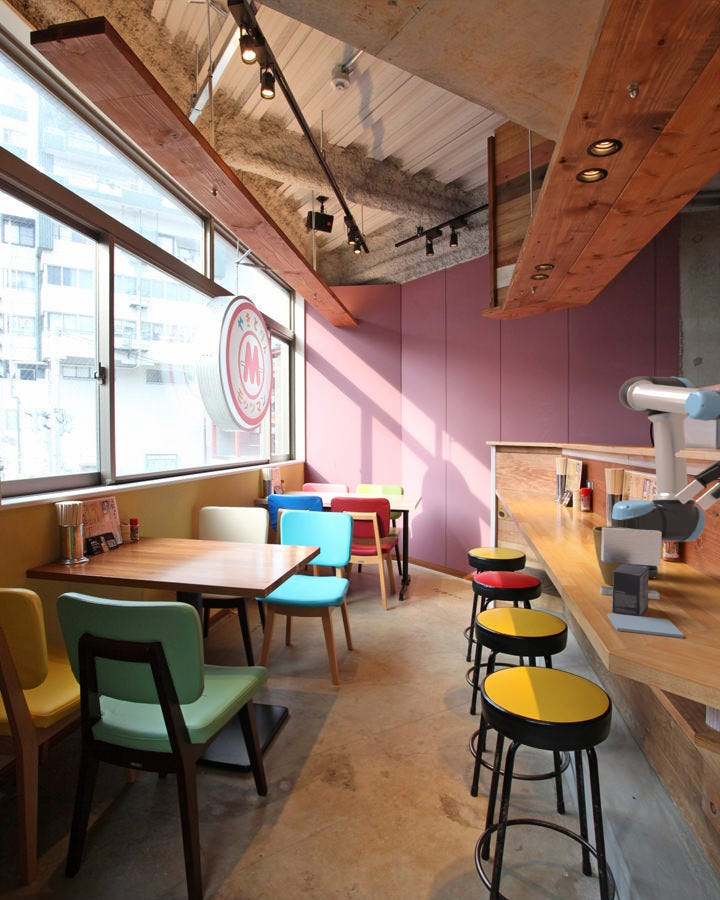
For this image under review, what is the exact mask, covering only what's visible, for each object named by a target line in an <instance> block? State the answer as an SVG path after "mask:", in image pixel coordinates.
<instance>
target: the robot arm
mask: <svg viewBox="0 0 720 900" xmlns="http://www.w3.org/2000/svg"><path fill="white" fill-rule="evenodd" d="M618 398H619V401H620V404H621V405H623V407H624V408H626V409H628V410H632V411H636V412H647V419H648V420H649V421H650V422H652V425H653V444H654V458H655V461H654V463H655V475H656V476H655V479H656V495H655V496H654V497H653V498H652V499H651V500H649V499H628V500H620V501H618V502H617V501H616V503H615V504H614V505H613V507H612V514H611V519H612V520H611V524H612V525H611V527H622V528H630V529H639V530H655V531H660V532H662V537H661V542H677V543H683V542H692V541H695V540H697V539H698V538H699V536H701V535H702V534H703V531H704V529H705V524H706V518H705V513H704V512H703V511H702V510H704V511H707V510H708V509H709V508H711V507H712V506H713V505H714V504H715V503H717V502H718V501H720V480H719V479H720V460H718V461H717V462H715V463H714V464H712V465H711V466H709V467H707V468H705V469H703V471H701V472H699V473H698V474H696V475H695V476H694V480H693V481H692V482H691V483H688V469H687V457H686V458H680V457H676V456H675V454H676V453H677V452H679V451H680V450H685V451H686V439H685V438H686V437H685V436H686V435H685V420H687V419H688V417H689V418H690V419H693V420H699V421H720V390H711V389H701V388H696V387H695V386H694V383H692V382H691V381H690V380H689V379H687V378H685V377H677V376H645V375H643V376H641V375H640V376H635V377H631V378H629V379H627V380H626V381H625V382H623V384H622V385H621V386H620V388H619V392H618ZM716 480H718V482H717V483H716V484H715V485H714V486H712V487H711V488H710V489H709V490H708V491H706V492H705V493H704V494H702V495H701V496H700V497H698V499H696V500H695V499H694V497H695V496H696V495H698V494H699V493H700V492H701V491H702V490H703V489H706V488H707V486H708V485H709V484H710V483H712V482H714V481H716ZM695 503H696V504H697V505H698V506H697V505H695ZM701 508H702V509H701ZM642 566H645V567H649V573H648V578H654V577H657V576H658V577H659V568H658V567H659V566H652V565H642ZM658 577H657V578H658ZM654 579H655V578H654Z"/></svg>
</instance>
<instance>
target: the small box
mask: <svg viewBox="0 0 720 900" xmlns="http://www.w3.org/2000/svg"><path fill="white" fill-rule="evenodd" d="M648 573H649V567H645V566H637V565H629V564H622V565H620V566H619V567H618V568H617V569H615V570H614V571H613V586H612V587H613V595H612V607H611V609H612V610H611V611H612V614H621V615H631V616H641V617H643V615H644V614H645V612H646V611H647V609H648V608H649V599H648V590H649V579H648Z"/></svg>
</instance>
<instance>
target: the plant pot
mask: <svg viewBox="0 0 720 900" xmlns="http://www.w3.org/2000/svg"><path fill="white" fill-rule="evenodd" d="M602 527H607V528H622V527H612V526H609V525H608V526H607V525H606V526H605V525H602V526H594V527H592V530H593V531H592V532H593V533H592V534H593V541H594V548H595V553H596V558H597V561H598V562H597V563H598V566H599V570H600V573H601V576H602V580H603V581H604V584H606V585H608V584H609V585H608V586H611V585H613V571H614V570H615V569H617V568H618V567H619V566H620V565H622V564H625V563H614V562H603V561H602V560H601V543H602ZM623 529H630V528H623ZM635 565H637V566H642V565H640V564H635Z"/></svg>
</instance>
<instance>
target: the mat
mask: <svg viewBox="0 0 720 900" xmlns="http://www.w3.org/2000/svg"><path fill="white" fill-rule="evenodd" d="M606 616H607V617H608V619H609V621H610V622H611V624H612V625H613V626H614V628H615V629H616V631H618V632H627V633H635V634H645V635H654V636H662V637H663V636H664V637H673V638H680V639H681V638H682V639H685V635H684V634H683V632H681V630H680V629H679V628H678V627H676V625H674V623H672V621H670V619H668V618H667V619H666V618H658V617H647V616H631V615H622V614H617V613H613V612H612V613H611V612H609V613H608V612H607V613H606Z"/></svg>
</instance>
